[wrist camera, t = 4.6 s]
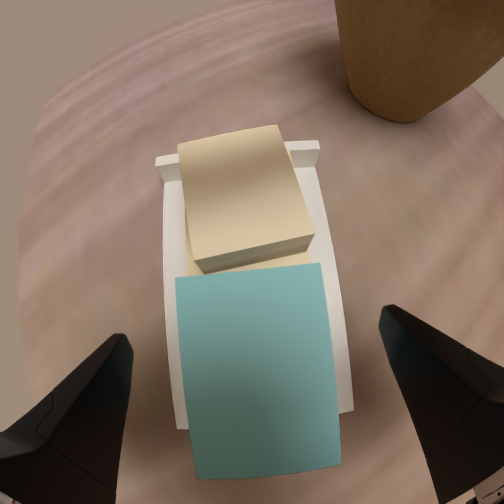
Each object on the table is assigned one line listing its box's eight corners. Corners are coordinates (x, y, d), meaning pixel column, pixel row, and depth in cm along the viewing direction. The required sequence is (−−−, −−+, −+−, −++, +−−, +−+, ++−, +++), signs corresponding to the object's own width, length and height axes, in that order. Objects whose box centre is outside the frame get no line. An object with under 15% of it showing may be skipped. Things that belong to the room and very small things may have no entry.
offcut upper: (305, 251, 14) (315, 233, 12) (204, 274, 14) (193, 260, 11) (274, 153, 16) (276, 124, 13) (187, 171, 16) (177, 144, 13)
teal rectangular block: (294, 396, 14) (341, 464, 5) (231, 403, 14) (197, 479, 5) (284, 308, 16) (320, 262, 7) (222, 314, 16) (175, 277, 7)
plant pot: (290, 49, 24) (299, -89, 8) (412, 60, 24) (452, -45, 9) (334, 163, 19) (406, -58, 4) (476, 162, 20) (569, 48, 4)
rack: (350, 408, 14) (365, 418, 12) (179, 426, 14) (166, 439, 12) (311, 163, 19) (317, 140, 17) (167, 178, 19) (156, 157, 17)
